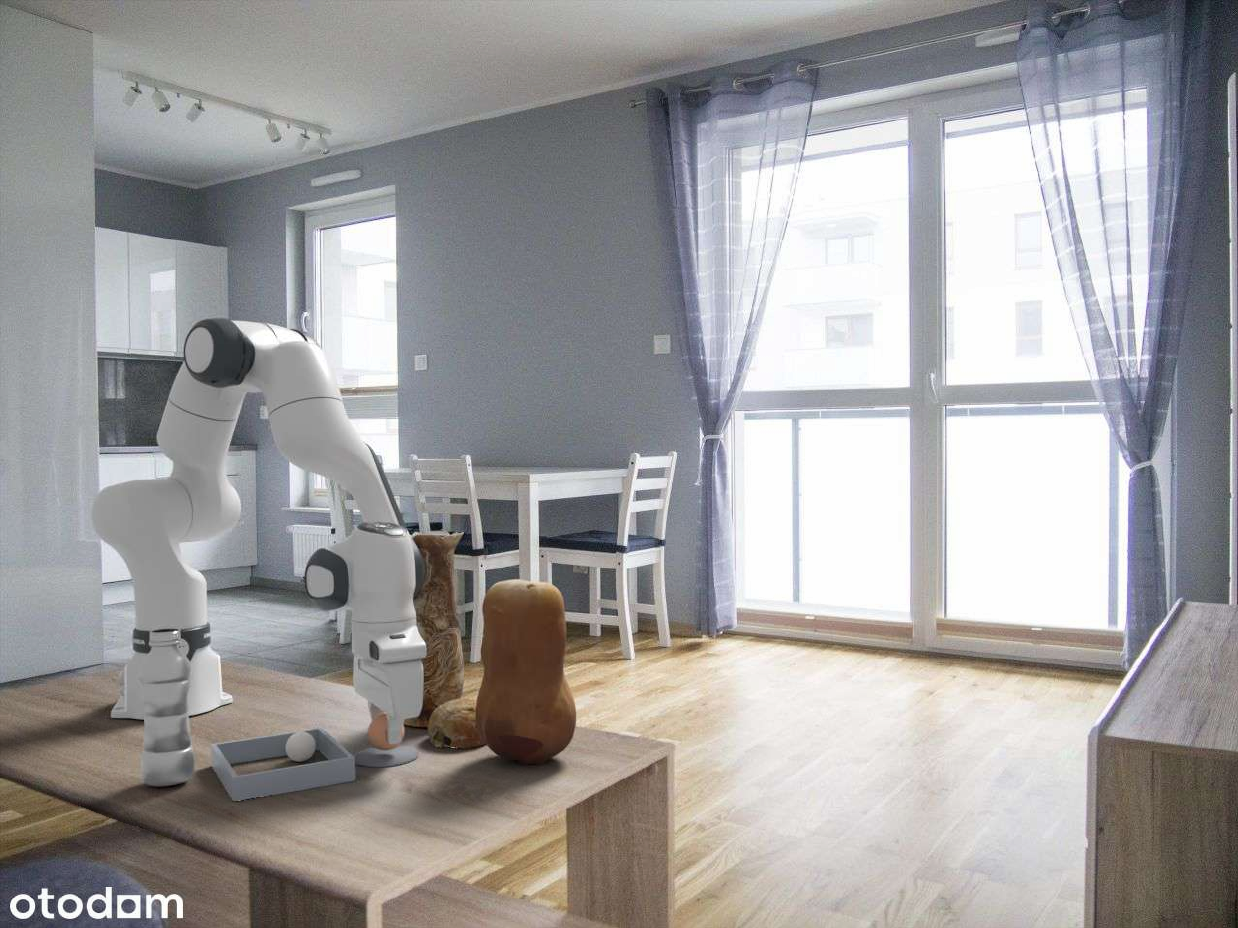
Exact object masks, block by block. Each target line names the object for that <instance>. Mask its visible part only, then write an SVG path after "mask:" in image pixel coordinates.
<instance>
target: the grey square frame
mask: <svg viewBox="0 0 1238 928" xmlns="http://www.w3.org/2000/svg"><path fill="white" fill-rule="evenodd" d="M297 732H306V733H309V734H310V735H312V736H313V738H314V740H315V743H316V748H315V751H319V750H320V751H321V752H320V751H319V752H320V753H321V754H322V755H323V756H324V757H325V756H326V759H328V760H323V761H318V762H316V761H315V762H313V763H312V762H311V763H307V764H306V763H305V764H301V765H293V766H288V767H281V768H275V769H270V770H264V771H259V772H258V771H257V772H252V773H246V774H241V775H238V774H237V773H236V772H235V769H234V768H233V767H232V765H235V764H240V763H247V761H248V762H252V761H253V762H254V761H259V760H265V758H266V759H271V758H278V757H283V756H288V755H287V753H286V743H287V741H288V739H289V738H290V737H291V736H292V735H293V734H295V733H297ZM210 762H211V763H210V765H211V766H210V767H211V768H212V767H213V768H212V770H213V769H214V770H213V772H216V773H215V775H216V774H217V775H216V776H217V778H218V777H219V778H218V780H219V779H220V780H219V781H220V783H221V782H222V783H221V784H222V786H223V785H224V786H223V788H224V787H225V788H224V789H225V791H226V793H227V792H228V793H227V795H228V796H229V797H231V798H232V799H231V798H230V799H231V801H232V800H233V801H238V800H244V801H246V800H245V799H250V798H255V799H257V798H256V797H261V796H266V797H270V796H269V795H272V796H276V795H282V793H283V794H288V793H293V792H299V791H304V790H310V789H315V788H320V787H326V786H331V785H337V784H342V783H347V782H355V781H356V764H355V757H354V755H353V754H352V753H351V752H349V751H348V750H347V749H346V748H345V747H344V746H343V745H341V743H340V742H338V741H337V740H336V739H335V738H334V737H333V736H332V735H330V734H329V733H328V732H327V731H326V730H325V729H324V728H322V727H317V728H310V729H305V730H295V731H292V732H291V731H290V732H289V731H288V732H284V733H278V734H277V733H276V734H271V735H264V736H263V735H262V736H258V737H251V738H250V737H249V738H244V739H237V740H232V741H231V740H230V741H225V742H218V743H212V744H210ZM261 798H262V797H261ZM250 800H251V799H250ZM233 801H232V802H233Z"/></svg>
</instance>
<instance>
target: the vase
mask: <svg viewBox="0 0 1238 928" xmlns="http://www.w3.org/2000/svg"><path fill="white" fill-rule="evenodd" d="M463 535H464V531H463V532H460V533H459V532H458V531H455V532H454V533H452V534H450V533H449V531H447V530H432V531H428V532H427V533H423V534H422V533H421V532H418V531H415V532H413V533H412V534H410V536H411V538H412V539H413V541H414V542H415V544H416V546H417V547H418V549H419V551H420V552H421V554H422V557H423V559H424V562H425V568H426V574H425V580H424V583H423V585H422V587H421V589H420V591H419V592H418V594H417V595H416V597H415V598H414V599H413V605H414V608H415V611H416V626H417V628H418V632H419V634H420V636H421V638H422V639H423V640H424V642H425V644H426V657H425V658H422V659H420V660H421V661H422V664H423V674H424V679H423V704H422V709H421V712H420V715H419V716H418V717H414V718H408V719H405V720H404V723H403V725H406V726H408V727H415V728H428V723H429V719H430V717H431V715H432V713H433V712H434V710H435V709H437V708H438V707H439V706H440V705H443V704H444V703H446V702H449V701H452V700H456V699H461V698H462V695H463V691H464V690H463V689H464V683H465V682H464V681H465V677H464V676H465V673H464V671H465V668H464V667H465V666H464V665H465V664H464V655H463V646H462V645H463V643H462V637H461V629H460V621H459V613H458V603H457V594H456V593H457V592H456V581H455V569H454V568H455V567H454V561H455V560H454V556H455V550H456V548H457V546H458V544H459V542H460V540H461V539H462V538H463Z"/></svg>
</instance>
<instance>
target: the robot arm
mask: <svg viewBox="0 0 1238 928" xmlns="http://www.w3.org/2000/svg"><path fill="white" fill-rule="evenodd" d="M182 354H183V362H182V364H181V365H180V368H179V370H178V372H177V373H176V376H175V378H174V381H173V384H172V387H171V388H170V392H169V395H168V398H167V401H166V404H165V407H164V410H163V414H162V417H161V421H160V424H159V427H158V430H157V432H156V443H157V445H158V447H159V449H160V451H161V452H162V454H163V455H164V456H165V457H166V458H168V459H169V460H171V461H172V471H171V473H170V475H169V476H168V478H160V479H159V478H158V479H156V478H155V479H133V480H128V481H123V482H120V483H116V484H112V485H108V486H106V487H104V488H102V489H101V490H100V491H99V493H98V494H97V495H96V497H95V498H94V501H93V503H92V506H91V511H90V512H91V513H90V517H91V518H90V519H91V522H92V526H93V530H94V532H95V533H96V534H97V536H98V537H99V538H100V539H101V540H102V541H103V542H104V543H106V544H107V545H109V546H110V547H111V548H112V549H114V550H115V551H116V552H117V553H118V555H119V556H120V558H122V560H123V562H124V564H125V566H126V568H127V569H128V573H129V574H130V577H131V578H130V579H131V582H132V586H133V597H134V611H135V613H134V615H135V617H134V618H135V627H134V629H132V637H131V641H132V650H133V651H134V653H133V656H132V657H131V658H130V660H128V661H127V664H125V665H124V669H122V670H121V671H120V672H119V677H118V678H119V679H118V682H119V684H118V685H119V686H124V687H123V688H121V690H120V697H119V698H118V700H117V702H116V703H115V705H114V706H113V708H112V709H111V712H110V718H112V719H114V718H115V719H135V720H144V716H145V715H144V711H143V700H142V695H141V689H140V683H139V682H140V681H139V676H138V673H139V669H140V666H141V664H142V663H143V661H144V659H145V658H146V656H147V655H148V654H149V652H150V651H151V648H152V646H149V642H150V631H152V630H156V629H163V628H178V629H180V639H181V644H179V648H180V649H181V651H182V652H183V653H184V654H185V655H186V657H187V658H188V660H189V661H190V663H191V666H192V676H191V678H192V679H191V687H190V695H189V709H188V712H189V717H190V716H195V715H199V714H203V713H206V712H210V711H212V710H214V709H216V708H218V707H221V706H224V705H227V704H230V703H233V702H234V700H233V695H231V694H229V693H226V692H224V691H223V684H222V683H223V682H222V681H223V679H222V668H221V667H222V666H221V656H220V655H219V654H218V653H216V652H215V651H214V650H213V649H212V648H211V646H210V644H211V643H212V642H211V639H212V638H211V636H212V629H211V624H210V623H209V622H208V595H207V593H208V591H207V590H208V589H207V588H208V585H207V579H206V578H205V577H204V575H203V574H202V573H201V572H200V571H199V570H198V569H196V568H194V567H192V566H189V565H188V564H187V562H186V561H185V559H184V557H183V555H182V552H181V549H180V548H181V547H180V544H181V543H191V542H192V543H193V542H202V541H209V540H211V539H214V538H217V537H221V536H223V535H226V534H229V533H230V532H231V531H233V530H234V529H235V528H236V526H237V525H238V522H239V521H240V517H241V512H242V503H241V499H240V496H239V494H238V492H237V490H236V489H235V487H234V486H233V485H232V484H231V483H230V481H229V479H228V475H227V458H228V452H229V449H230V445H231V442H232V438H233V435H234V433H235V432H234V431H235V429H236V425H237V423H238V419H239V416H240V412H241V410H242V407H243V403H244V400H245V397H246V395H247V394H248V393H252V394H253V393H254V394H255V393H263V397H264V399H265V404H266V410H267V411H266V412H267V415H268V420H269V425H270V431H271V434H272V438H273V441H274V443H275V446H276V448H277V450H278V452H279V454H281V456H282V457H283V458H284V459H285V460H287V462H289V463H290V464H292V465H294V466H296V467H297V468H299V469H301V470H303V471H306V472H308V473H312V474H315V475H318V476H321V477H323V478H326V479H329V480H331V481H333V482H335V483H336V484H338V485H340V486H341V487H343V488H344V489H345V490H346V491H347V492H349V494H350V495H351V496H352V497H353V499H354V501H355V503H356V506H357V509H358V510H359V513H360V515H361V518H362V521H363V523H360V524H357V526H355V527H354V528H353V529H352V531H351V534H349V535H348V536H347V537H345V538H344V539H342V540H339V541H338V542H335V543H333V544H330V545H327V546H325V547H321V548H319V549H316V550H315V552H313V554H312V555H311V556H310V558H309V559H308V561H307V564H306V566H305V569H304V577H303V579H304V580H303V581H304V589H305V592H306V595H307V596H308V598H309V600H310V601H311V602H312V604H314V606H316V607H317V608H319V609H320V610H322V611H325V612H326V611H328V612H344V611H350V610H351V613H352V615H351V651H352V654H353V678H352V682H353V687H354V691H355V693H356V694H357V695H359V696H361V697H362V699H365V700H366V701H367V707H368V711H369V715H370V719H371V722H372V721H373V720H374V719H375V718H376V717H377V716H379V715H382V714H387V720H388V726H387V729H386V730H385V734H386V741H387V742H388V743H389V744H397V743H400V742H401V743H402V741H401V730H402V727H403V725H404V720H405V719H408V718H414V717H418V716H419V715H420V712H421V709H422V704H423V679H424V674H423V664H422V661H421V660H420V659H422V658H425V657H426V644H425V642H424V640H423V639H422V638H421V636H420V634H419V632H418V628H417V626H416V611H415V608H414V605H413V599H414V598H415V597H416V595H417V594H418V592H419V591H420V589H421V587H422V585H423V583H424V580H425V574H426V568H425V562H424V559H423V557H422V554H421V552H420V551H419V549H418V547H417V546H416V544H415V542H414V541H413V539H412V538H411V536H410V535H411V534H410V533H409V531H408V528H407V526H406V523H405V520H404V518H403V516H402V514H401V511H400V508H399V505H398V503H397V501H396V499H395V496H394V492H393V491H392V488H391V485H390V483H389V481H388V478H387V475H386V474H385V471H384V469H383V467H382V464H381V462H380V460H379V458H378V456H377V454H376V453H375V451H374V449H373V448H372V447H371V446H370V445H369V444H368V443H367V442H365V441H364V440H363V439H362V438H361V436H360V435H359V434H358V433H357V430H356V429H355V428H354V426H353V424H352V422H351V421H350V418H349V416H348V414H347V410H346V408H345V404H344V401H343V397H342V392H341V390H340V387H339V383H338V381H337V378H336V376H335V373H334V370H333V368H332V366H331V363H330V361H329V359H328V357H327V355H326V353H325V352H324V350H323V349H322V348H321V346H320V344H319V343H318V341H317V340H316V339H315V338H314V337H313V336H311V335H309V334H307V333H305V332H303V331H301V330H298V329H294V328H287V327H284V326H280V325H276V324H272V323H267V322H262V321H255V322H254V321H247V320H230V319H228V318H225V317H212V318H205V319H202V320H199V321H197V322H196V323H195V324H194V325H193V326H192V328H191V329H190V330H189V332H188V333H187V336H186V338H185V340H184V344H183V353H182ZM371 722H370V723H371ZM401 743H400V744H401Z"/></svg>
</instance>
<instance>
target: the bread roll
mask: <svg viewBox="0 0 1238 928" xmlns="http://www.w3.org/2000/svg"><path fill="white" fill-rule="evenodd" d="M476 702H477V700H475V699H472V698H468V697H467V698H464V697H461V698H460V699H456V700H452V701H449V702H446V703H444V704H443V705H440V706H439V707H438V708H437V709H435V710H434V712H433V713H432V715H431V717H430V719H429V723H428V727H427V733H428V737H429V742H430V743H431V744H432V743H433V744H434V747H435V746H437V747H439V748H442V747H455V748H454V749H461V748H467V749H471V748H470V747H476V748H478V747H477V746H480V747H482V746H481V745H483V746H486V745H485V742H484V740H483V739H482V737H481V735H480V734H479V732H478V730H477V729H476V727H475V724H476V719H475V712H476ZM433 744H432V745H433ZM437 747H436V748H437ZM456 747H458V748H456Z"/></svg>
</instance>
